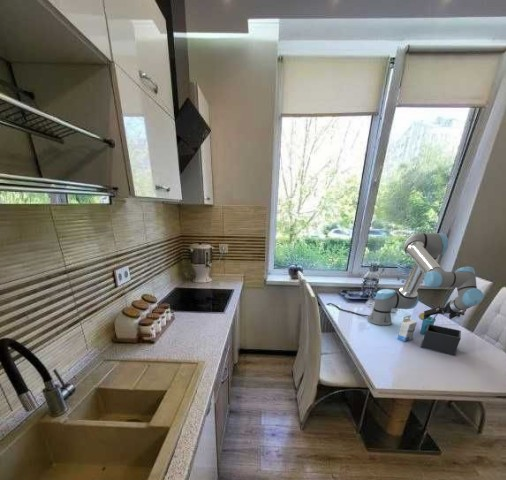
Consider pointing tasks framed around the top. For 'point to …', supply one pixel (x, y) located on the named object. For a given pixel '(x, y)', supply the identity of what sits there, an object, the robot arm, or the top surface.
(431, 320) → the cup
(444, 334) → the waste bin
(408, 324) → the ink box
